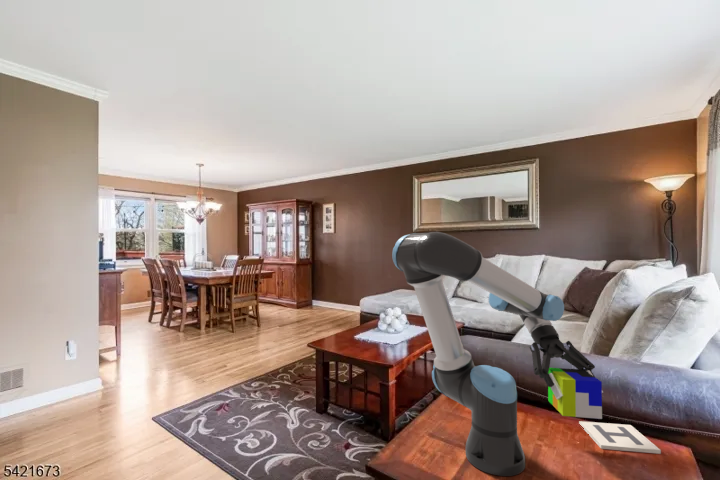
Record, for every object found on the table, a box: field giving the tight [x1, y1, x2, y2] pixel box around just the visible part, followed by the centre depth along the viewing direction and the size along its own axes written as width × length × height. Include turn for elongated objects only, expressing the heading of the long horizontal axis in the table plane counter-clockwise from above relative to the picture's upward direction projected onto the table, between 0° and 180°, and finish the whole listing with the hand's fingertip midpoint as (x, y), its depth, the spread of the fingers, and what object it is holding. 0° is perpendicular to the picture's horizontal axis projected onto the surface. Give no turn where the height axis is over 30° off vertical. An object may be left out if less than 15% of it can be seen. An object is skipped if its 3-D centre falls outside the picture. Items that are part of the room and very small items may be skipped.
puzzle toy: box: [547, 367, 603, 420], centre depth 100 cm, size 10×10×10 cm
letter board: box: [578, 420, 662, 455], centre depth 104 cm, size 15×14×1 cm
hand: (580, 395), depth 98 cm, fingers closed on puzzle toy, 12 cm apart
